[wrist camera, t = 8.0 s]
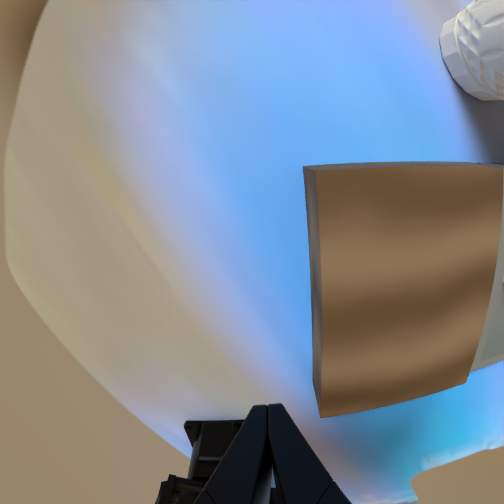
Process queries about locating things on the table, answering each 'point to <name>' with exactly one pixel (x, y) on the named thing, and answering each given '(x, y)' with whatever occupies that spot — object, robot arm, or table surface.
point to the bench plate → (398, 277)
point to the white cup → (476, 49)
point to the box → (493, 309)
